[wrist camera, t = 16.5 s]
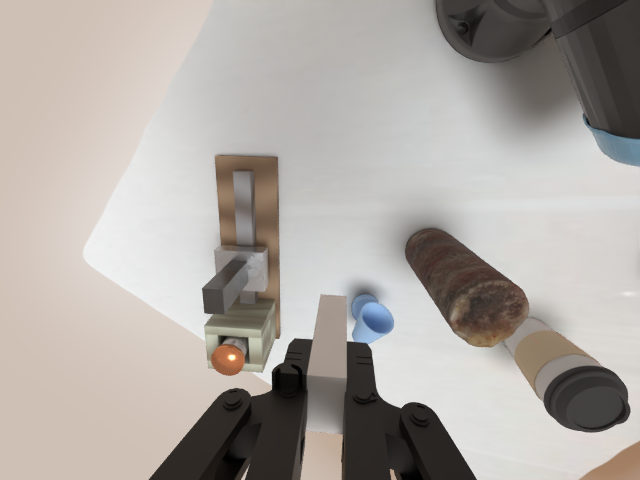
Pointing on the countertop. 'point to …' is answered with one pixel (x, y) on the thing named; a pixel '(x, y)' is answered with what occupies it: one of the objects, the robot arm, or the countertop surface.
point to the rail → (262, 212)
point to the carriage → (235, 276)
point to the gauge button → (230, 355)
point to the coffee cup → (568, 379)
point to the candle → (467, 289)
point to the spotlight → (370, 319)
